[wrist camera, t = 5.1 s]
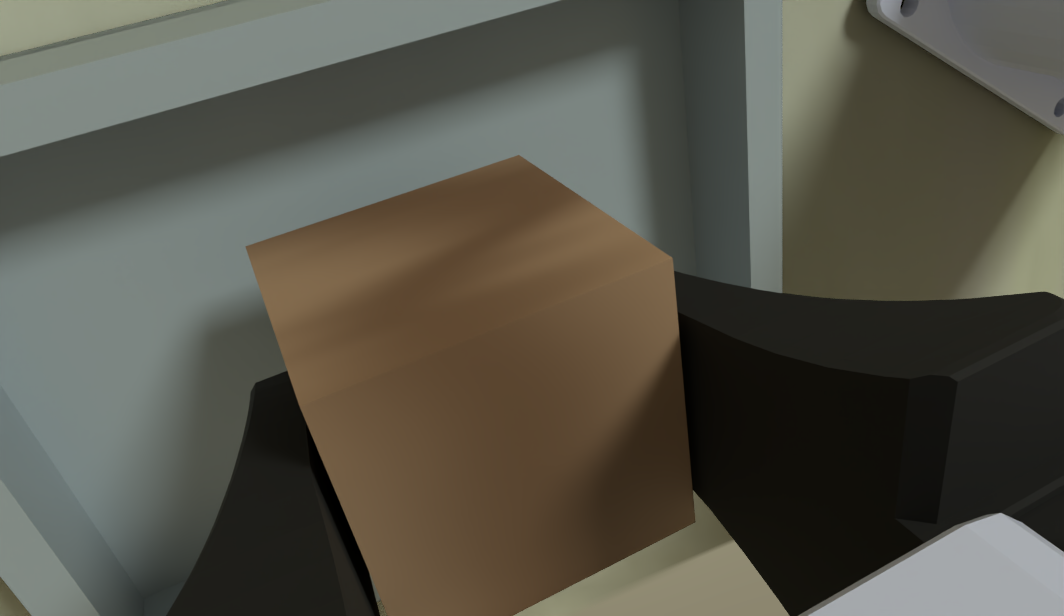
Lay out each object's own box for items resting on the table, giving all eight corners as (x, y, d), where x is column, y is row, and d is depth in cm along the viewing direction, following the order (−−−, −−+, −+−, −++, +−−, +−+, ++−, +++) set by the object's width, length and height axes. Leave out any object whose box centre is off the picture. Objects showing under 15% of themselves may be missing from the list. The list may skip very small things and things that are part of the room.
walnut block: (518, 154, 13) (672, 257, 9) (559, 372, 15) (695, 522, 12) (245, 246, 12) (299, 407, 8) (336, 467, 14) (409, 668, 10)
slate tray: (692, -115, 15) (781, -115, 13) (718, 356, 21) (782, 407, 19) (-242, 115, 11) (-326, 169, 9) (120, 622, 16) (119, 725, 14)
